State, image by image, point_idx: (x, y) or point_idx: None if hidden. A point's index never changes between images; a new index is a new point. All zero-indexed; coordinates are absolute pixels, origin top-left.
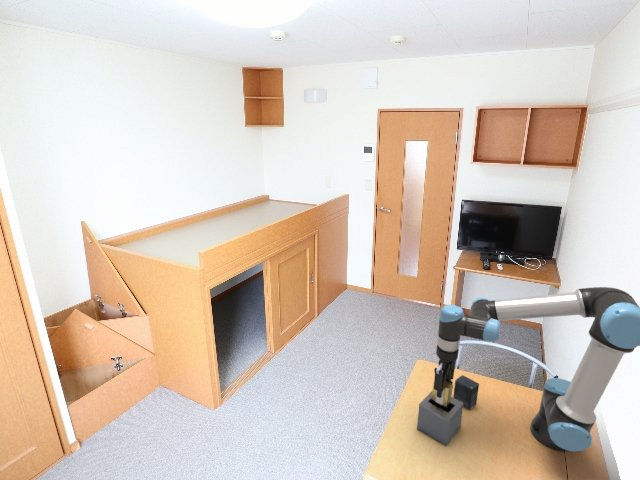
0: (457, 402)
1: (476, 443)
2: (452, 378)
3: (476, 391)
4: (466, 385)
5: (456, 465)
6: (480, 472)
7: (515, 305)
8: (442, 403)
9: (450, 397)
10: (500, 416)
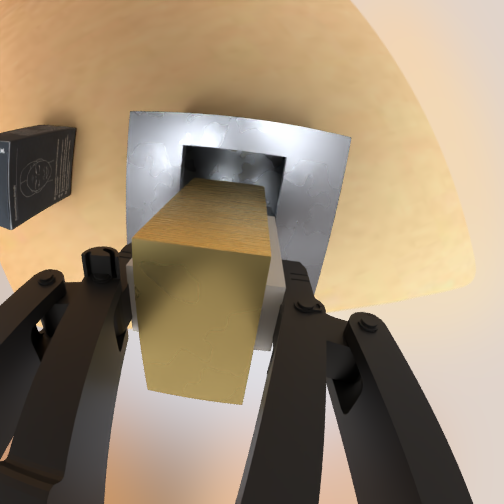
0: (149, 143)
1: (223, 39)
2: (52, 280)
3: (7, 133)
4: (6, 174)
5: (371, 78)
6: (349, 8)
7: None
8: (272, 221)
9: (201, 191)
10: (51, 43)
